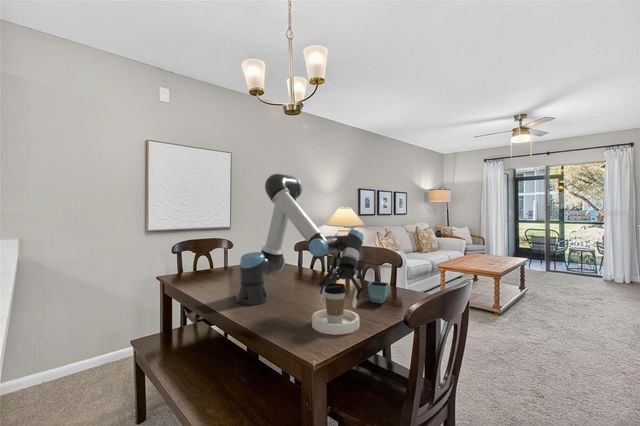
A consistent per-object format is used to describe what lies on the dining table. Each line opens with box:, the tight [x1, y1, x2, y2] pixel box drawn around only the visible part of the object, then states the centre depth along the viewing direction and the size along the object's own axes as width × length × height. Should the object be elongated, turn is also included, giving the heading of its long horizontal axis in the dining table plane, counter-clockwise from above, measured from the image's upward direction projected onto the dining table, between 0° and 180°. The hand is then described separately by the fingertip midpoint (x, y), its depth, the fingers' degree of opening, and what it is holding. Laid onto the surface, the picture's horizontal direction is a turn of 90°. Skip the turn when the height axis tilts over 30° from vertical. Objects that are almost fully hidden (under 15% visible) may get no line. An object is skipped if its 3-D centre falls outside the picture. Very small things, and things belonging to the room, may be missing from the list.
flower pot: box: [367, 281, 390, 305], centre depth 152 cm, size 9×9×9 cm
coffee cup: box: [324, 282, 346, 324], centre depth 122 cm, size 8×8×15 cm
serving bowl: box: [311, 308, 361, 336], centre depth 122 cm, size 18×18×4 cm
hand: (337, 304), depth 123 cm, fingers open, 13 cm apart
